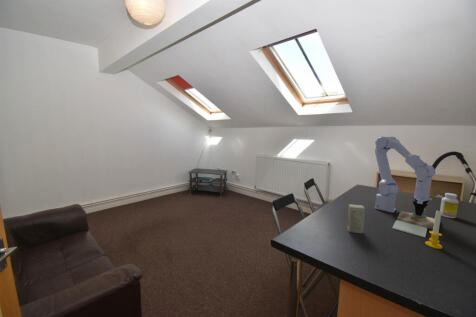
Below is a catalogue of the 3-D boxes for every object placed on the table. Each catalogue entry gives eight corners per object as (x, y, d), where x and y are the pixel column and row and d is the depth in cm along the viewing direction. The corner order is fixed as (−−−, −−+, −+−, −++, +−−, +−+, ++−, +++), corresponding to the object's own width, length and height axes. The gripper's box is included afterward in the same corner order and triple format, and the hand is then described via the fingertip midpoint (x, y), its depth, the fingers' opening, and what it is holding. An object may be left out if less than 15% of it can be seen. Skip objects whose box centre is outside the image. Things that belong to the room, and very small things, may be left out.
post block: (396, 220, 109) (398, 211, 109) (401, 212, 119) (402, 205, 119) (438, 230, 98) (440, 221, 98) (439, 221, 108) (440, 213, 107)
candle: (424, 240, 89) (429, 206, 87) (441, 245, 86) (447, 209, 83) (425, 245, 85) (430, 209, 83) (443, 250, 82) (449, 213, 79)
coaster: (392, 228, 100) (392, 227, 100) (396, 221, 108) (396, 220, 108) (425, 237, 91) (425, 236, 91) (427, 229, 100) (427, 227, 99)
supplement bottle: (459, 219, 112) (463, 196, 110) (445, 218, 113) (448, 195, 111) (449, 214, 118) (453, 192, 116) (436, 213, 119) (439, 191, 118)
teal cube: (412, 215, 108) (414, 207, 108) (413, 213, 111) (414, 205, 111) (424, 218, 105) (425, 209, 105) (424, 215, 108) (425, 207, 108)
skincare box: (361, 229, 98) (363, 205, 96) (363, 234, 94) (366, 208, 92) (346, 227, 100) (348, 203, 98) (347, 231, 96) (349, 206, 94)
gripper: (432, 193, 98) (428, 220, 100) (433, 187, 108) (430, 212, 110) (413, 190, 103) (409, 215, 105) (416, 185, 113) (413, 208, 115)
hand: (419, 213), depth 108 cm, fingers open, 6 cm apart
